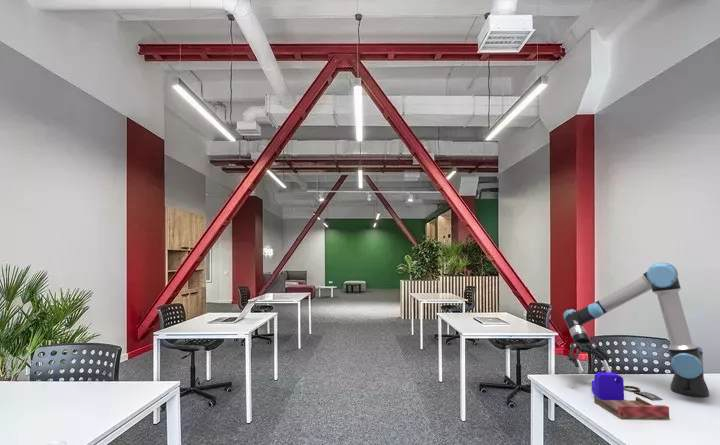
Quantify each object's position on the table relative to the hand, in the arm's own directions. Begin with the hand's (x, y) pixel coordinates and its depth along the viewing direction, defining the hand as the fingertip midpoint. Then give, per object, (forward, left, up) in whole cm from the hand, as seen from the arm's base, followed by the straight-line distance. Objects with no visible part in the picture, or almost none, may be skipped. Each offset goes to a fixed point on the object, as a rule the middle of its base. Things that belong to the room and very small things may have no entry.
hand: (595, 373), depth 211 cm
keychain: (-21, +2, -10) cm, 23 cm away
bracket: (-1, +4, -10) cm, 10 cm away
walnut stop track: (-1, +25, -9) cm, 27 cm away
